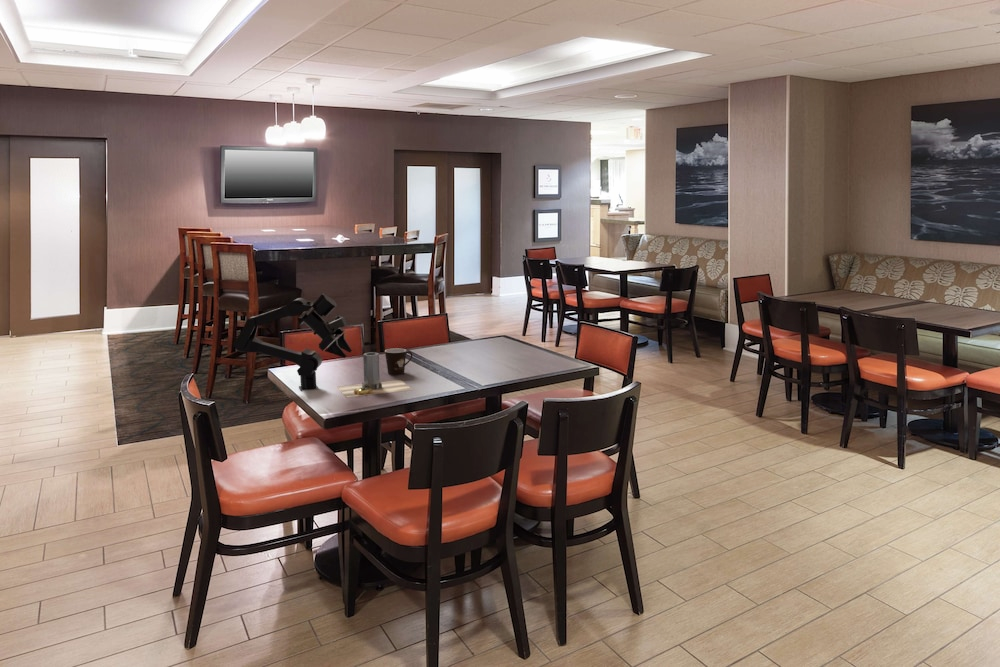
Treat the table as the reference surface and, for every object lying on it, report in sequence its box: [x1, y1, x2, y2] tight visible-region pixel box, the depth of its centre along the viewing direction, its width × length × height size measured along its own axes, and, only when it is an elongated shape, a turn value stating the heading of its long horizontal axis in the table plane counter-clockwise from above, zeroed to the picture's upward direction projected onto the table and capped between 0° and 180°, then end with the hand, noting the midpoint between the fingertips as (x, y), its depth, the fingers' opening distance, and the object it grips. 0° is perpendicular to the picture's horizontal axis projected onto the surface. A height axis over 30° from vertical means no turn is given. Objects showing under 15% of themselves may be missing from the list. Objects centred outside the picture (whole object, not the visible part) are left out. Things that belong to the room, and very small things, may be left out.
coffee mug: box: [384, 348, 413, 376], centre depth 304 cm, size 12×9×10 cm
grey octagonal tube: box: [361, 351, 382, 390], centre depth 281 cm, size 7×7×13 cm
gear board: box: [337, 379, 413, 398], centre depth 281 cm, size 16×25×1 cm, turn 114°
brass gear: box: [354, 387, 372, 396], centre depth 275 cm, size 7×7×2 cm
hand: (348, 354), depth 280 cm, fingers open, 9 cm apart
